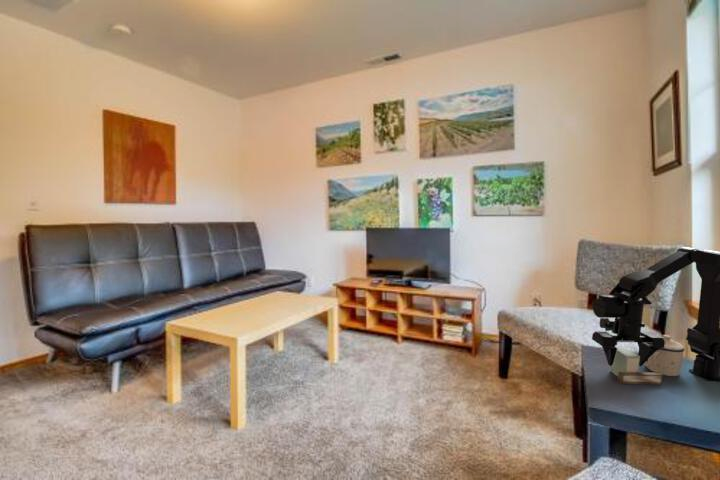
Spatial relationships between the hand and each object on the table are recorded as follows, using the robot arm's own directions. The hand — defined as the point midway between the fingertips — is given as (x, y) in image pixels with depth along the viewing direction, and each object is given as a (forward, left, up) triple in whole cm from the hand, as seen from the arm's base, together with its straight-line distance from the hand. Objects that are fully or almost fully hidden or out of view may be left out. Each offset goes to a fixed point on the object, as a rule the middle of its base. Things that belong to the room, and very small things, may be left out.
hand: (624, 365), depth 114 cm
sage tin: (0, 0, -4) cm, 4 cm away
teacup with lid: (-14, -4, -4) cm, 15 cm away
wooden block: (-2, +4, -4) cm, 6 cm away
